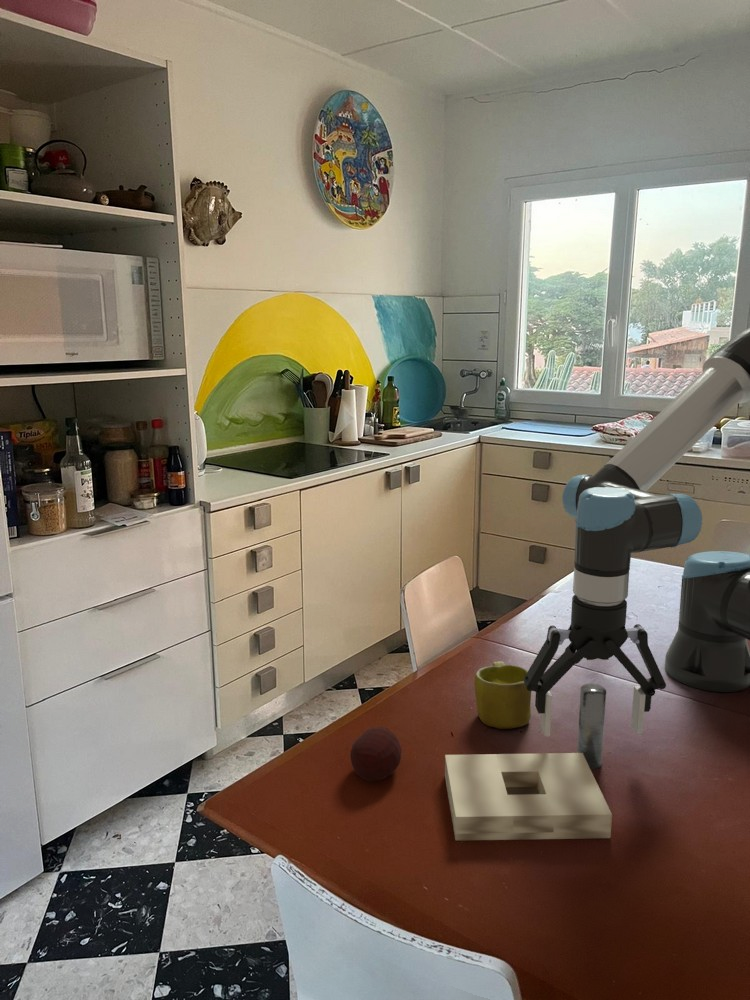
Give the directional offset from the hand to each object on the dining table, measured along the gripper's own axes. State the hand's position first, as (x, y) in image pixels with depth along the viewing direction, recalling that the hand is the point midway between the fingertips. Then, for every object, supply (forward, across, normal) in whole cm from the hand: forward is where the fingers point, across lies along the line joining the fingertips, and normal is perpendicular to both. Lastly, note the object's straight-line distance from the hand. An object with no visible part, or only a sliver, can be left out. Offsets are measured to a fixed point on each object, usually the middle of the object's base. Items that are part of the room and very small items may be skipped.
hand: (590, 730), depth 114 cm
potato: (+6, +32, +1) cm, 32 cm away
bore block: (+5, +12, +10) cm, 16 cm away
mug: (+6, +10, -15) cm, 19 cm away
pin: (+5, 0, 0) cm, 5 cm away
